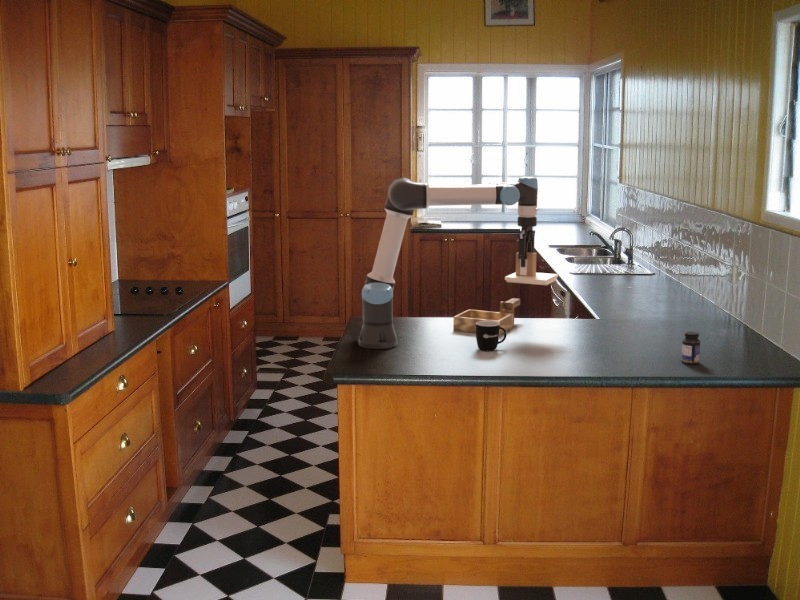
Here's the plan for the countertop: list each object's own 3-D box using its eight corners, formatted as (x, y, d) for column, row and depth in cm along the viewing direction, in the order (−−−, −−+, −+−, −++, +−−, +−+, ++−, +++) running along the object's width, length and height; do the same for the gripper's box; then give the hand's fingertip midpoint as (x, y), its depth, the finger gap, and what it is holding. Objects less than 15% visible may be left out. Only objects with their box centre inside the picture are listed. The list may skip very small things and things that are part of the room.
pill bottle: (695, 360, 321) (697, 330, 318) (701, 364, 315) (703, 334, 312) (678, 360, 320) (680, 330, 318) (684, 365, 314) (686, 334, 312)
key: (504, 308, 374) (504, 302, 374) (513, 303, 384) (513, 297, 383) (512, 308, 373) (512, 303, 372) (521, 304, 382) (521, 298, 382)
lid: (504, 282, 352) (505, 254, 350) (518, 276, 366) (518, 249, 364) (545, 285, 345) (546, 257, 342) (558, 279, 358) (558, 252, 356)
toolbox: (453, 330, 366) (453, 306, 364) (470, 321, 382) (470, 298, 380) (498, 335, 357) (499, 310, 355) (514, 326, 373) (514, 302, 371)
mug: (479, 353, 332) (480, 326, 330) (472, 347, 340) (472, 321, 338) (510, 351, 334) (510, 324, 332) (502, 345, 343) (502, 319, 341)
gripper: (528, 218, 342) (527, 278, 346) (543, 214, 357) (541, 271, 362) (510, 217, 345) (509, 276, 350) (525, 213, 360) (524, 270, 365)
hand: (525, 273), depth 356 cm, fingers closed on lid, 4 cm apart
